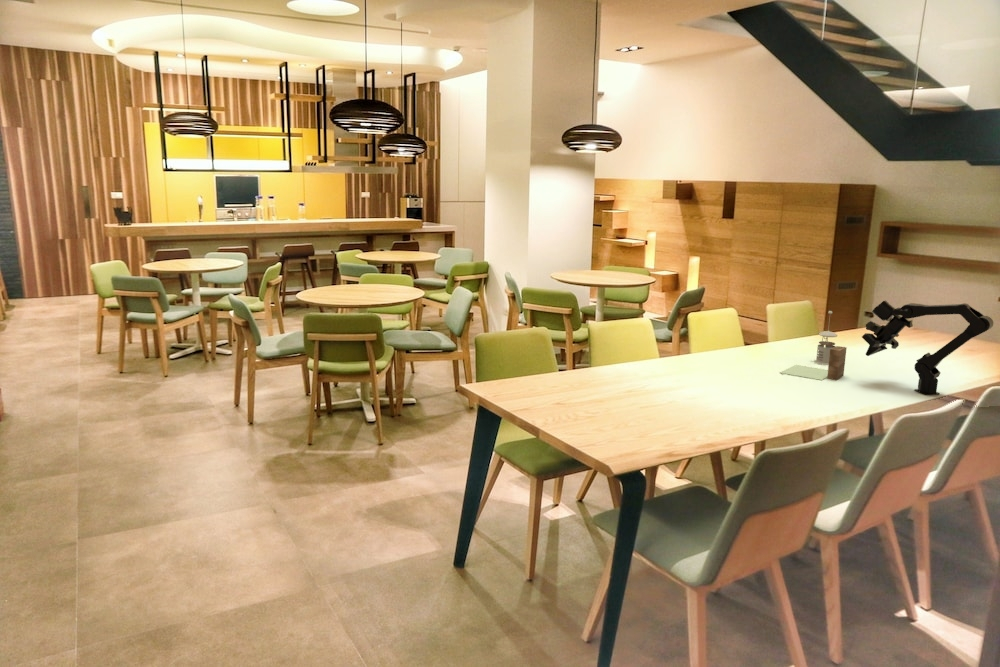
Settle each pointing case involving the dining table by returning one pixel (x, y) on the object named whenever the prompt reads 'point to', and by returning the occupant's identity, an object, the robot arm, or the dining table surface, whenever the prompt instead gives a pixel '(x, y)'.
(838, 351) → the slab
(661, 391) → the dining table surface
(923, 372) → the robot arm
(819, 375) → the mat
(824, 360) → the french press
